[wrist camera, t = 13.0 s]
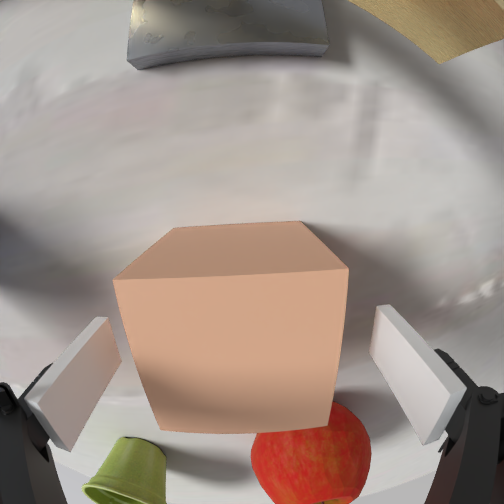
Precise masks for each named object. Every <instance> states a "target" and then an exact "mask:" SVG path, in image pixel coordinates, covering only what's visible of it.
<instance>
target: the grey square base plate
mask: <svg viewBox="0 0 504 504" xmlns="http://www.w3.org/2000/svg"><path fill="white" fill-rule="evenodd" d="M328 47H329V39H328V33H327V27H326V21H325V16H324V10H323V5H322V0H134V1H133V7H132V14H131V22H130V30H129V40H128V51H127V61H128V62H129V63H130V64H132V65H133V66H134V67H135V68H136V69H137V70H140V69H145V68H149V67H154V66H159V65H165V64H170V63H176V62H182V61H189V60H197V59H205V58H215V57H227V56H243V55H300V56H316V57H322V55H323V54H324V52H325V51H326V49H327V48H328Z"/></svg>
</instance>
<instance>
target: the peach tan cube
mask: <svg viewBox="0 0 504 504" xmlns="http://www.w3.org/2000/svg"><path fill="white" fill-rule="evenodd" d="M348 276H349V268H348V267H347V266H346V265H345V264H344V263H343V262H342V261H341V260H340V259H339V258H338V257H337V256H336V255H335V254H334V253H333V252H332V251H331V250H330V249H329V248H328V247H327V246H326V245H325V244H324V243H323V242H322V241H321V240H320V239H319V238H317V237H316V236H315V235H314V234H313V233H312V232H311V231H310V230H309V229H308V228H307V227H306V226H305V225H304V224H303V223H302V222H301V221H287V222H265V223H245V224H227V225H210V226H195V227H180V228H173V229H172V230H171V231H169V232H168V233H167V234H166V235H164V236H163V237H162V238H161V239H160V240H158V241H157V242H156V243H155V244H154V245H152V246H151V247H150V248H149V249H148V250H146V251H145V252H144V253H143V254H142V255H140V256H139V257H138V258H137V259H136V260H135V261H133V262H132V263H131V264H130V265H129V266H128V267H126V268H125V269H124V270H123V271H122V272H121V273H120V274H119V275H117V276H116V277H115V278H114V279H113V284H114V289H115V293H116V297H117V302H118V306H119V310H120V314H121V318H122V321H123V325H124V329H125V332H126V336H127V339H128V342H129V346H130V349H131V352H132V355H133V359H134V362H135V365H136V368H137V371H138V373H139V376H140V379H141V382H142V385H143V387H144V390H145V393H146V395H147V398H148V401H149V403H150V406H151V408H152V411H153V413H154V416H155V418H156V420H157V423H158V425H159V427H160V429H161V430H164V431H175V432H188V433H212V434H242V433H266V432H280V431H290V430H300V429H308V428H315V427H322V426H327V425H328V421H329V416H330V411H331V406H332V401H333V395H334V390H335V384H336V378H337V372H338V366H339V359H340V352H341V345H342V337H343V329H344V321H345V311H346V301H347V289H348Z"/></svg>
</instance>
